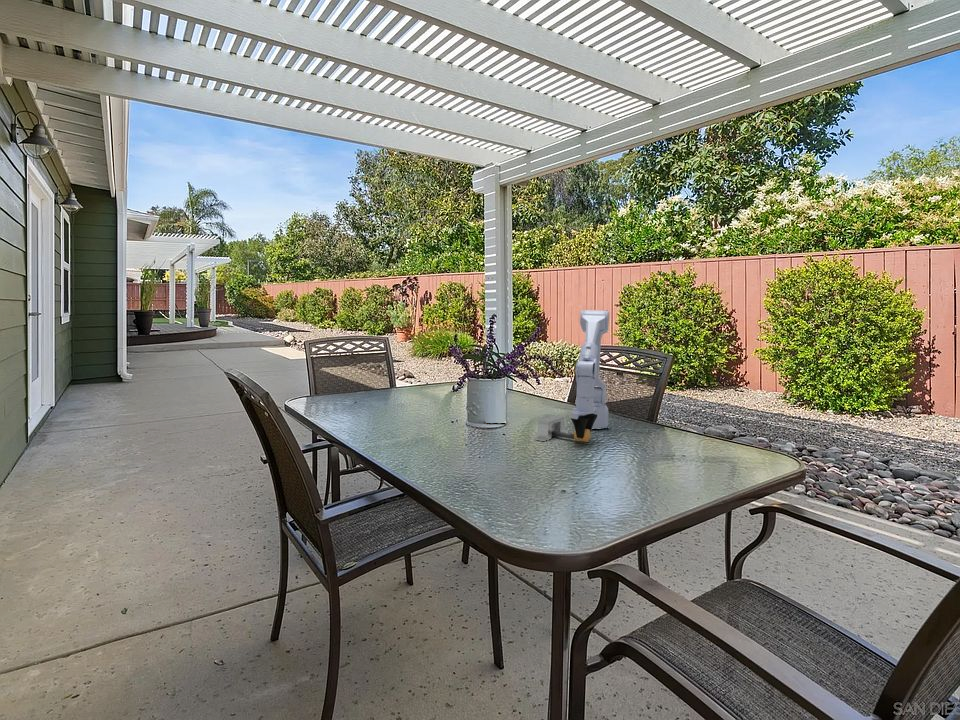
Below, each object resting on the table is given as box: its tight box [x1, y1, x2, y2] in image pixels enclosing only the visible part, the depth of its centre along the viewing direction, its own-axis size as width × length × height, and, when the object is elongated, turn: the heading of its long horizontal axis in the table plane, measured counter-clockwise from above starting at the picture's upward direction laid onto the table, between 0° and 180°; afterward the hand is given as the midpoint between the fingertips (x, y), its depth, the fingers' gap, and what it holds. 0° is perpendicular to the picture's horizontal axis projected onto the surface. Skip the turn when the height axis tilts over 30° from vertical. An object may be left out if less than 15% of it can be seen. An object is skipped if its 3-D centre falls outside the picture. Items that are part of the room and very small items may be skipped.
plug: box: [552, 425, 592, 443], centre depth 188 cm, size 16×4×4 cm, turn 52°
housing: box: [533, 414, 568, 442], centre depth 192 cm, size 4×16×6 cm, turn 143°
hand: (583, 436), depth 184 cm, fingers closed on plug, 4 cm apart
